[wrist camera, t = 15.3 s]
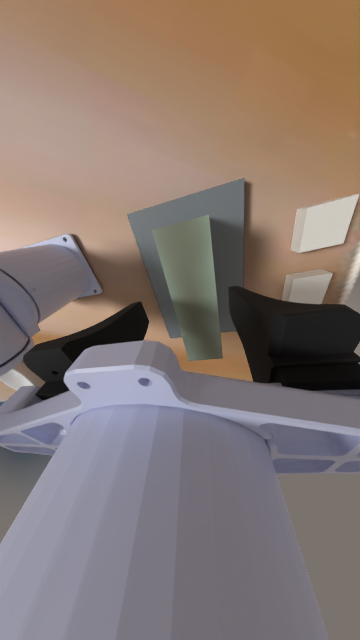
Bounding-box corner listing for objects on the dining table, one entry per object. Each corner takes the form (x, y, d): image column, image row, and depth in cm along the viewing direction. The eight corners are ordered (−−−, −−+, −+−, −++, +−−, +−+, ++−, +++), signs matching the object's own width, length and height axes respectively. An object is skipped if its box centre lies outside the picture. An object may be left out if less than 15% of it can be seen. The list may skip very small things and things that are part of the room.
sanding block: (190, 326, 24) (189, 360, 18) (167, 226, 16) (151, 230, 10) (215, 323, 23) (222, 358, 17) (203, 216, 15) (208, 214, 10)
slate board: (171, 334, 26) (170, 338, 25) (130, 214, 17) (126, 214, 16) (241, 326, 24) (242, 329, 23) (241, 180, 14) (244, 177, 13)
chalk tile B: (289, 249, 17) (299, 252, 16) (295, 209, 15) (307, 207, 14) (328, 241, 17) (343, 243, 15) (340, 196, 15) (359, 193, 13)
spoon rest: (15, 375, 40) (-15, 402, 34) (0, 347, 33) (-42, 374, 28) (102, 397, 43) (87, 425, 37) (103, 375, 36) (85, 405, 30)
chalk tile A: (280, 301, 21) (287, 307, 20) (285, 274, 19) (293, 279, 17) (311, 296, 20) (321, 303, 19) (320, 268, 18) (333, 273, 17)
